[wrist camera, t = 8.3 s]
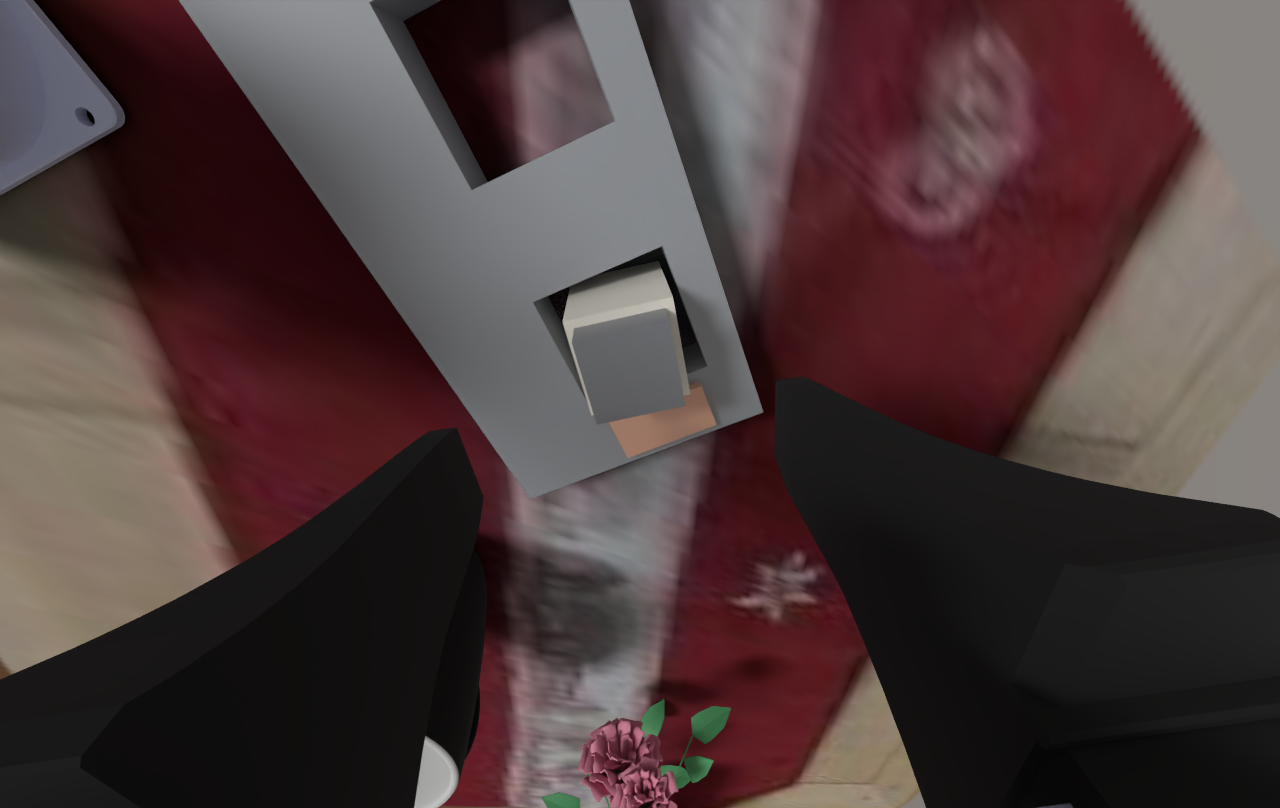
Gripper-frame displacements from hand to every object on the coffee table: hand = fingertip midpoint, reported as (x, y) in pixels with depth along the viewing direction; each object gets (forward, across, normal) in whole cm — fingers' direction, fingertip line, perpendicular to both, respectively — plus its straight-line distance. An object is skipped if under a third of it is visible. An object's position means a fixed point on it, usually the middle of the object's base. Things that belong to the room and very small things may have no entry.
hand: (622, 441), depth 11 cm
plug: (+10, 0, +1) cm, 10 cm away
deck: (+10, +2, -3) cm, 11 cm away
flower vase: (+11, +4, +38) cm, 40 cm away
